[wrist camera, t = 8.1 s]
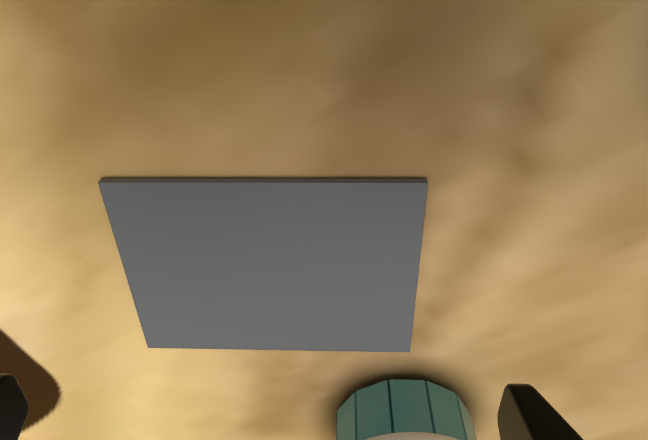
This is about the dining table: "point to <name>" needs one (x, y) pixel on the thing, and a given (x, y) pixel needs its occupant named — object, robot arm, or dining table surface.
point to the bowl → (403, 411)
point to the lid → (412, 436)
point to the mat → (270, 260)
